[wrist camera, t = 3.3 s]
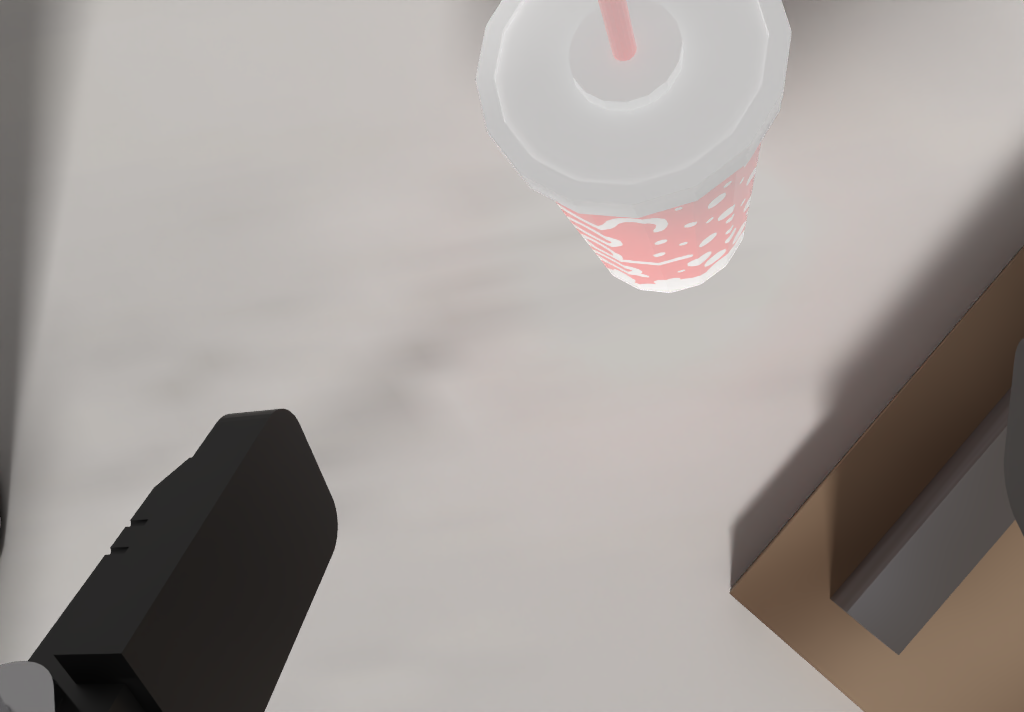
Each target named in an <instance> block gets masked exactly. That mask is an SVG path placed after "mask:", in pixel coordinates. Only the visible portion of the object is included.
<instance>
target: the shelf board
mask: <svg viewBox="0 0 1024 712" xmlns="http://www.w3.org/2000/svg"><path fill="white" fill-rule="evenodd" d="M1023 338H1024V246H1023V247H1022V248H1021V249H1020V251H1019V252H1018V253H1017V254H1016V255H1015V256H1014V258H1013V259H1012V260H1011V261H1010V262H1009V263H1008V265H1007V266H1006V267H1005V268H1004V269H1003V270H1002V272H1001V273H1000V274H999V275H998V276H997V278H996V279H995V280H994V281H993V282H992V283H991V285H990V286H989V287H988V288H987V289H986V290H985V292H984V293H983V294H982V295H981V296H980V297H979V299H978V300H977V301H976V302H975V303H974V304H973V306H972V307H971V308H970V309H969V310H968V311H967V313H966V314H965V315H964V316H963V317H962V319H961V320H960V321H959V322H958V323H957V324H956V326H955V327H954V328H953V329H952V330H951V331H950V333H949V334H948V335H947V336H946V337H945V338H944V340H943V341H942V342H941V343H940V344H939V345H938V347H937V348H936V349H935V350H934V351H933V353H932V354H931V355H930V356H929V357H928V358H927V360H926V361H925V362H924V363H923V364H922V365H921V367H920V368H919V369H918V370H917V371H916V372H915V374H914V375H913V376H912V377H911V378H910V379H909V381H908V382H907V383H906V384H905V385H904V386H903V388H902V389H901V390H900V391H899V392H898V394H897V395H896V396H895V397H894V398H893V399H892V401H891V402H890V403H889V404H888V405H887V406H886V408H885V409H884V410H883V411H882V412H881V413H880V415H879V416H878V417H877V418H876V419H875V420H874V422H873V423H872V424H871V425H870V426H869V427H868V429H867V430H866V431H865V432H864V433H863V435H862V436H861V437H860V438H859V439H858V440H857V442H856V443H855V444H854V445H853V446H852V447H851V449H850V450H849V451H848V452H847V453H846V454H845V456H844V457H843V458H842V459H841V460H840V461H839V463H838V464H837V465H836V466H835V467H834V468H833V470H832V471H831V472H830V473H829V474H828V476H827V477H826V478H825V479H824V480H823V481H822V483H821V484H820V485H819V486H818V487H817V488H816V490H815V491H814V492H813V493H812V494H811V495H810V497H809V498H808V499H807V500H806V501H805V502H804V504H803V505H802V506H801V507H800V508H799V510H798V511H797V512H796V513H795V514H794V515H793V517H792V518H791V519H790V520H789V521H788V522H787V524H786V525H785V526H784V527H783V528H782V529H781V531H780V532H779V533H778V534H777V535H776V536H775V538H774V539H773V540H772V541H771V542H770V543H769V545H768V546H767V547H766V548H765V549H764V551H763V552H762V553H761V554H760V555H759V556H758V558H757V559H756V560H755V561H754V562H753V563H752V565H751V566H750V567H749V568H748V569H747V570H746V572H745V573H744V574H743V575H742V576H741V577H740V579H739V580H738V581H737V582H736V583H735V584H734V586H733V587H732V588H731V589H730V594H731V595H732V596H733V597H734V598H735V599H736V600H738V601H739V602H740V603H741V604H742V605H743V606H744V607H746V608H747V609H748V610H749V611H750V612H751V613H752V614H754V615H755V616H756V617H757V618H758V619H759V620H760V621H762V622H763V623H764V624H765V625H766V626H767V627H768V628H770V629H771V630H772V631H773V632H774V633H775V634H776V635H778V636H779V637H780V638H781V639H782V640H783V641H784V642H786V643H787V644H788V645H789V646H790V647H791V648H792V649H793V650H795V651H796V652H797V653H798V654H799V655H800V656H801V657H803V658H804V659H805V660H806V661H807V662H808V663H809V664H811V665H812V666H813V667H814V668H815V669H816V670H817V671H819V672H820V673H821V674H822V675H823V676H824V677H825V678H827V679H828V680H829V681H830V682H831V683H832V684H833V685H835V686H836V687H837V688H838V689H839V690H840V691H841V692H843V693H844V694H845V695H846V696H847V697H848V698H849V699H850V700H852V701H853V702H854V703H855V704H856V705H857V706H858V707H860V708H861V709H862V710H863V711H864V712H1024V536H1023V534H1022V532H1021V530H1020V528H1019V526H1018V524H1017V522H1016V519H1015V517H1014V515H1013V512H1012V509H1011V506H1010V503H1009V499H1008V495H1007V490H1006V484H1005V476H1004V451H1005V442H1006V433H1007V423H1008V414H1009V405H1010V395H1011V386H1012V376H1013V367H1014V359H1015V353H1016V349H1017V346H1018V344H1019V342H1020V341H1021V340H1022V339H1023Z"/></svg>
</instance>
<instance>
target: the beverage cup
mask: <svg viewBox="0 0 1024 712" xmlns="http://www.w3.org/2000/svg"><path fill="white" fill-rule="evenodd" d="M791 32H792V30H791V27H790V24H789V21H788V18H787V15H786V12H785V9H784V6H783V3H782V0H502V1H501V2H500V4H499V6H498V7H497V9H496V10H495V12H494V14H493V15H492V17H491V18H490V20H489V22H488V23H487V25H486V28H485V33H484V38H483V43H482V48H481V53H480V58H479V63H478V68H477V73H476V78H475V81H476V85H477V90H478V94H479V99H480V103H481V108H482V113H483V117H484V122H485V126H486V131H487V133H488V134H489V136H490V137H491V139H492V140H493V141H494V142H495V144H496V145H497V146H498V148H499V149H500V150H501V152H502V153H503V154H504V155H505V157H506V158H507V159H508V161H509V162H510V163H511V165H512V166H513V167H514V168H515V170H516V171H517V172H518V174H519V175H520V176H521V177H522V179H523V180H524V181H525V182H526V183H527V185H528V186H529V187H530V188H531V189H533V190H535V191H536V192H538V193H540V194H542V195H544V196H546V197H548V198H550V199H552V200H554V201H555V202H556V203H557V204H558V205H559V207H560V208H561V209H562V211H563V212H564V213H565V214H566V216H567V217H568V218H569V220H570V221H571V222H572V223H573V225H574V226H575V227H576V228H577V230H578V231H579V232H580V234H581V235H582V236H583V237H584V239H585V240H586V241H587V243H588V244H589V245H590V246H591V248H592V249H593V250H594V252H595V253H596V254H597V255H598V257H599V258H600V259H601V261H602V262H603V263H604V264H605V266H606V267H607V268H608V270H609V271H610V272H611V273H612V275H613V276H615V277H617V278H619V279H621V280H622V281H624V282H626V283H628V284H630V285H632V286H633V287H635V288H637V289H639V290H648V291H657V292H667V293H671V292H675V291H679V290H682V289H686V288H690V287H693V286H697V285H701V284H702V283H703V282H705V281H706V280H707V279H709V278H710V277H712V276H713V275H714V274H716V273H717V272H718V271H720V270H721V269H722V268H724V267H725V266H726V265H727V264H728V262H729V261H730V259H731V257H732V256H733V254H734V252H735V251H736V249H737V247H738V246H739V244H740V243H741V241H742V239H743V235H744V230H745V224H746V219H747V214H748V208H749V203H750V198H751V193H752V187H753V182H754V177H755V171H756V166H757V161H758V155H759V150H760V145H761V141H762V139H763V137H764V136H765V134H766V132H767V131H768V129H769V128H770V126H771V124H772V123H773V121H774V119H775V118H776V116H777V115H778V113H779V111H780V107H781V100H782V98H783V92H784V85H785V77H786V70H787V63H788V56H789V48H790V41H791Z"/></svg>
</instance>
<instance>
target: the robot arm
mask: <svg viewBox="0 0 1024 712" xmlns="http://www.w3.org/2000/svg"><path fill="white" fill-rule="evenodd" d="M1004 476H1005V484H1006V490H1007V495H1008V499H1009V503H1010V506H1011V509H1012V512H1013V515H1014V517H1015V519H1016V522H1017V524H1018V526H1019V528H1020V530H1021V532H1022V534H1023V536H1024V338H1023V339H1022V340H1021V341H1020V342H1019V344H1018V346H1017V349H1016V353H1015V359H1014V367H1013V376H1012V386H1011V395H1010V405H1009V414H1008V423H1007V433H1006V442H1005V451H1004ZM130 521H131V526H130V527H125V528H124V530H123V531H122V532H121V534H120V535H119V537H118V538H117V539H116V541H115V542H114V543H113V545H112V546H111V554H110V555H105V556H104V557H103V559H102V560H101V561H100V563H99V564H98V565H97V567H96V568H95V570H94V571H93V572H92V574H91V575H90V576H89V578H88V579H87V581H86V582H85V583H84V585H83V586H82V587H81V589H80V590H79V591H78V593H77V594H76V596H75V597H74V598H73V600H72V601H71V602H70V604H69V605H68V607H67V608H66V609H65V611H64V612H63V613H62V615H61V616H60V618H59V619H58V620H57V622H56V623H55V624H54V626H53V627H52V629H51V630H50V631H49V633H48V634H47V635H46V637H45V638H44V640H43V641H42V642H41V644H40V645H39V646H38V648H37V649H36V650H35V652H34V653H33V655H32V656H31V657H30V659H29V660H28V661H19V662H11V663H6V664H2V665H0V712H264V711H265V709H266V707H267V704H268V702H269V700H270V698H271V695H272V693H273V691H274V688H275V686H276V684H277V681H278V679H279V677H280V674H281V672H282V670H283V667H284V665H285V663H286V661H287V658H288V656H289V654H290V651H291V649H292V647H293V644H294V642H295V640H296V637H297V635H298V633H299V630H300V628H301V626H302V623H303V621H304V619H305V617H306V614H307V612H308V610H309V607H310V605H311V603H312V600H313V598H314V596H315V593H316V591H317V589H318V586H319V584H320V582H321V580H322V577H323V575H324V573H325V570H326V568H327V566H328V563H329V561H330V559H331V556H332V554H333V551H334V549H335V545H336V540H337V531H338V522H337V513H336V508H335V504H334V501H333V498H332V496H331V494H330V491H329V489H328V487H327V485H326V482H325V480H324V478H323V476H322V473H321V471H320V469H319V467H318V464H317V462H316V460H315V458H314V455H313V453H312V451H311V449H310V446H309V444H308V442H307V440H306V437H305V435H304V433H303V431H302V428H301V426H300V424H299V422H298V420H297V419H296V417H295V416H294V415H293V414H292V413H291V412H290V411H288V410H286V409H275V410H265V411H254V412H244V413H234V414H227V415H225V416H223V417H222V418H220V419H219V421H218V422H217V423H216V424H215V426H214V427H213V429H212V430H211V432H210V433H209V434H208V436H207V437H206V439H205V440H204V441H203V443H202V444H201V446H200V447H199V449H198V450H197V451H196V453H195V454H194V456H193V457H192V458H189V459H188V460H186V461H185V462H184V463H183V464H182V465H180V466H179V467H178V468H177V469H176V470H175V471H173V472H172V473H171V474H170V475H169V476H167V477H166V478H165V479H164V480H163V481H161V482H160V483H159V484H158V485H157V486H155V487H154V489H153V490H152V491H151V493H150V494H149V495H148V497H147V498H146V500H145V501H144V502H143V504H142V505H141V506H140V508H139V509H138V511H137V512H136V513H135V515H134V516H133V517H132V519H131V520H130ZM0 526H1V519H0Z"/></svg>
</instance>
